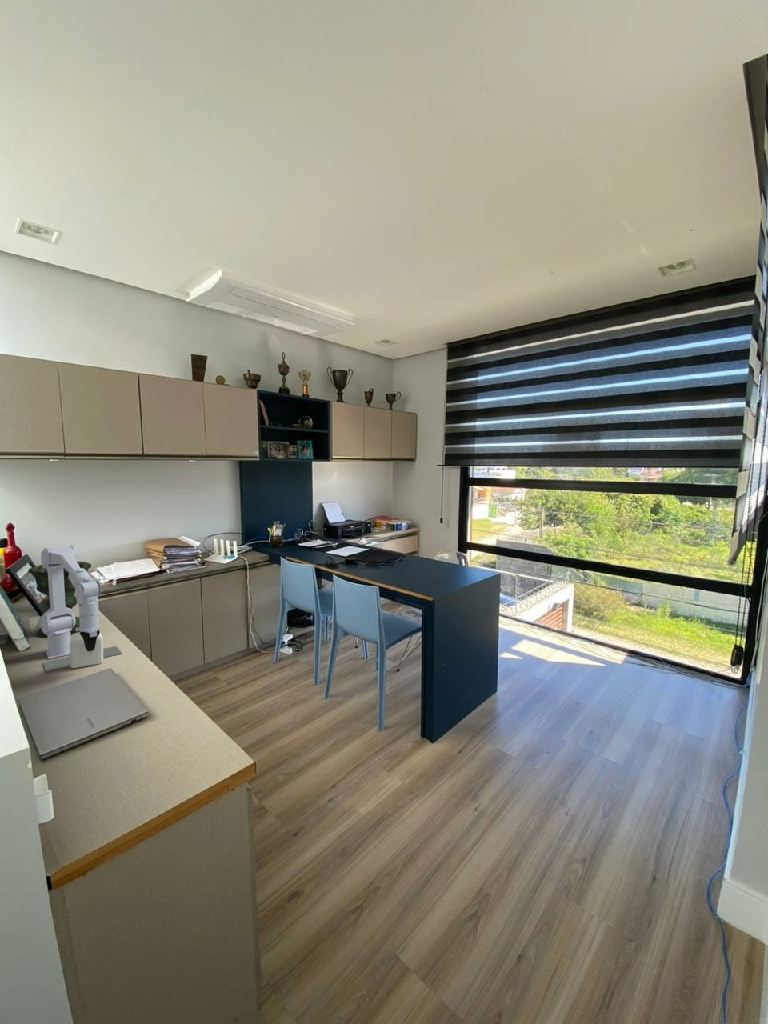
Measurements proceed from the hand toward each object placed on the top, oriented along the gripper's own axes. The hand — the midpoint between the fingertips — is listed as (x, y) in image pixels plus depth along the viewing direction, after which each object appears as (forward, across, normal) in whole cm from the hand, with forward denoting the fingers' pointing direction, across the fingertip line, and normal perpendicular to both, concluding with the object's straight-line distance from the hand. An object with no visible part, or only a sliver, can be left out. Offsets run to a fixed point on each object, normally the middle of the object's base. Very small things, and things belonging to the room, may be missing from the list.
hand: (90, 650), depth 153 cm
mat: (+8, -14, 0) cm, 16 cm away
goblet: (+8, -56, -1) cm, 57 cm away
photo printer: (+8, -7, 0) cm, 11 cm away
